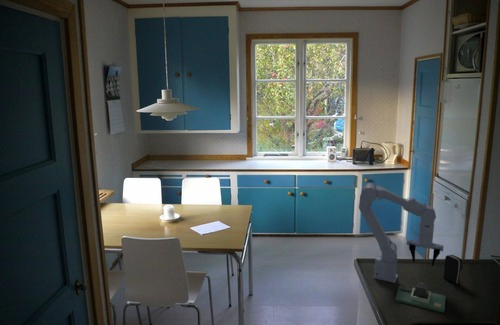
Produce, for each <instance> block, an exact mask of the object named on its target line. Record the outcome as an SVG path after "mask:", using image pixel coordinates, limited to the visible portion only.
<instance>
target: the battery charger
mask: <svg viewBox="0 0 500 325" xmlns="http://www.w3.org/2000/svg"><path fill="white" fill-rule="evenodd" d="M463 265H464V264H463V259H462V258H460V257H458V256H456V255H454V254H448V255H446V256H445V257H444V266H443V267H444V269H443V278H444V279H445V280H446V281H447V280H448V281H449V282H451V283H452V284H459V283H460V273H461V271H462V270H463Z"/></svg>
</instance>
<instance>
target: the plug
mask: <svg viewBox="0 0 500 325" xmlns="http://www.w3.org/2000/svg"><path fill="white" fill-rule="evenodd" d="M415 288H416V290H415V296H416V297H420V298H424V299H426V294H427V291H428V284H426V283H425V282H424V283H423V282H416V284H415Z"/></svg>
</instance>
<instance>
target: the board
mask: <svg viewBox="0 0 500 325" xmlns="http://www.w3.org/2000/svg"><path fill="white" fill-rule="evenodd" d="M415 290H416V287H410V286H409V287H408V286H405V285H399V286H398V289H397V291H396V296H395V298H394V300H395V302H398V303H402V304H405V305H410V306H411V305H412V306H414V307H418V308H424V309H427V310H432V311H435V312H439V313H443V314H444V313H445V310H446V309H445V308H446V297H447V296H446V295H444V294H439V293H434V292H432V291H429V290H427V294H426V299H424V298H420V297H416V296H415Z"/></svg>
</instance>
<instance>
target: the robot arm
mask: <svg viewBox="0 0 500 325" xmlns="http://www.w3.org/2000/svg"><path fill="white" fill-rule="evenodd" d="M375 200H377V201H379V200H387V201H389V202H392V203H393V204H394V203H395V204H396V205H400V206H401V207H402V209H403V210H404V211H406V212H408V213H410V214H412V215H413V216H414V215H415V216H417V217H420V220H419V225H418V226H419V227H418V236H417V237H418V238H417V239H416V240H415V239H407V240H406V245H407V246H408V250H409V251H410V254H411V258H412V263H415V262H416V247H418V248H419V247H420V248H421V249H422V248H423V249H430V250H433V255H432V261H431V266H432V267H434V266H435V262H436V260H437V258H438V257H439V255H440V254H441V252H444V245H442V244H440V243H435V242H433V241H434V232H435V230H434V228H435V224H434V223H435V220H436V218H437V216H436V211H435V208H434V207H433V206H431V205H430V204H426V203H421V201H417V200H416V198H414V197H412V198H411V197H407V198H404V197H402V196H400V195H398V194H396V193H395V192H392V191H390V190H388V189H386V188H385V187H382V186H380V185H378V184H377V185H376V183H373V182H368V183H366V184H364V186H363V188H362V189H361V191H360V195H359V204H358V209H359V211H360V213H361V215H362V216H363V218H364V220H365V222H366V224H367V225H368V228H370V231H371V232H372V234H373V236H374V238H375V241H376V242H377V243H378V247H379V250H380V252H381V255H380V256H376V257H375V260H374V269H373V271H374V272H373V279H375V280H381V281H385V282H390V283H394V284H396V282H397V279H398V277H399V275H398V274H397V270H398V254H397V253H398V252H397V251H398V246H397V245H396V243H395V242H393V241H392V240H391V238H390V237H389V236H388V235H387V233H386V231H385V230H384V228H383V226H382V224H381V223H380V220H379V218H378V217H377V215H376V213H375V212H374V210H373V209H372V204H373V202H375Z"/></svg>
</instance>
